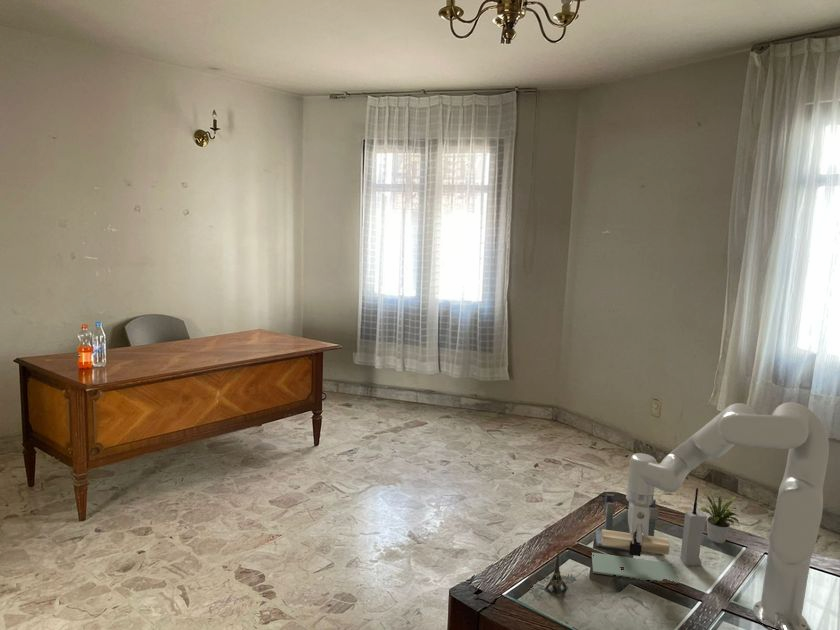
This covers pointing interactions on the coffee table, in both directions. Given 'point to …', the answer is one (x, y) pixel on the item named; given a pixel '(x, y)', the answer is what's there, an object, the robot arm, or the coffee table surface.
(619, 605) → the coffee table surface
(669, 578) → the rubber mat
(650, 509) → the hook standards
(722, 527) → the house plant
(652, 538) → the maple rail
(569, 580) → the eiffel tower figurine
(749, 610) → the coffee table surface
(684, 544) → the vintage mobile phone
